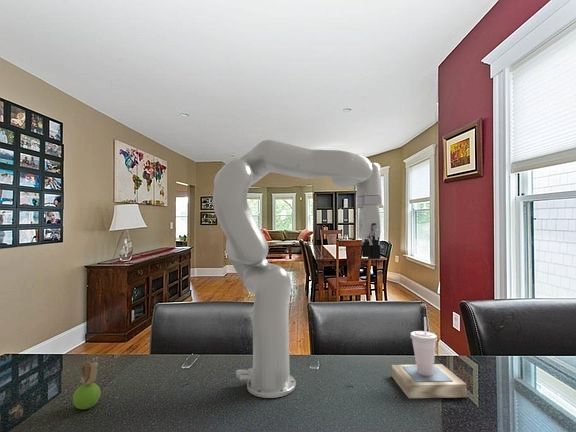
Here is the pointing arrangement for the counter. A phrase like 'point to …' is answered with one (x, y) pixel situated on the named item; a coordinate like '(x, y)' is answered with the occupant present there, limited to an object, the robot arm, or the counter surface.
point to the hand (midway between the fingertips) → (370, 257)
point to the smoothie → (424, 350)
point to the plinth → (428, 382)
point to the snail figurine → (87, 387)
